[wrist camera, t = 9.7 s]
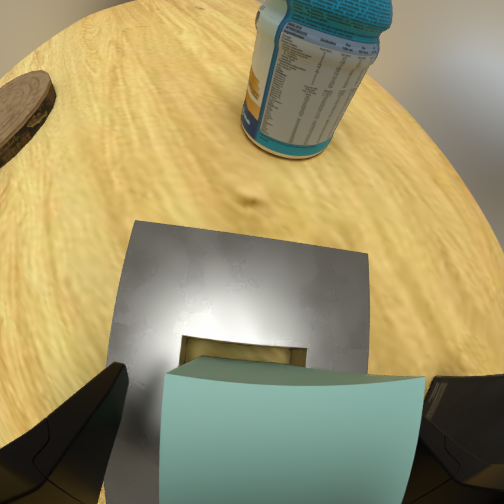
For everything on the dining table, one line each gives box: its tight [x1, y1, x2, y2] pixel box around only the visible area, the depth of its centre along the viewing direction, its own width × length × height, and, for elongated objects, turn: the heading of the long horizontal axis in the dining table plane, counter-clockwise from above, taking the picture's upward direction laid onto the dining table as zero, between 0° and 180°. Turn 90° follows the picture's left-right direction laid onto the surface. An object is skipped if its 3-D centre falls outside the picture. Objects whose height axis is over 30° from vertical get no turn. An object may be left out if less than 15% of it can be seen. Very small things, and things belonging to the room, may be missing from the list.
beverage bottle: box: [241, 0, 393, 159], centre depth 14 cm, size 8×8×20 cm
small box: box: [422, 374, 504, 464], centre depth 10 cm, size 11×6×10 cm, turn 55°
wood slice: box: [0, 70, 56, 168], centre depth 18 cm, size 16×16×3 cm
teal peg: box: [159, 356, 426, 504], centre depth 9 cm, size 4×4×13 cm
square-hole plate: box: [104, 220, 370, 504], centre depth 13 cm, size 18×14×3 cm
